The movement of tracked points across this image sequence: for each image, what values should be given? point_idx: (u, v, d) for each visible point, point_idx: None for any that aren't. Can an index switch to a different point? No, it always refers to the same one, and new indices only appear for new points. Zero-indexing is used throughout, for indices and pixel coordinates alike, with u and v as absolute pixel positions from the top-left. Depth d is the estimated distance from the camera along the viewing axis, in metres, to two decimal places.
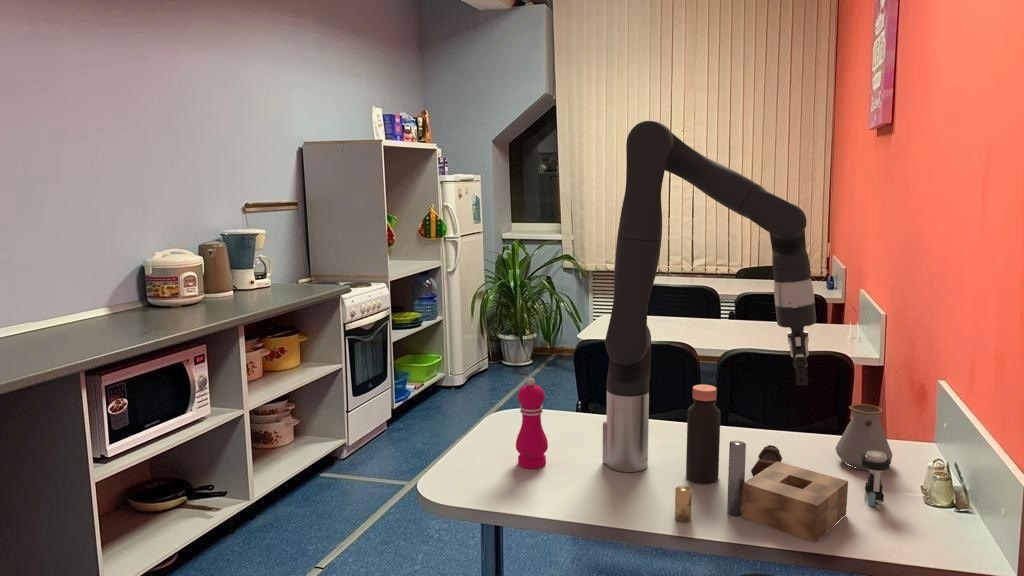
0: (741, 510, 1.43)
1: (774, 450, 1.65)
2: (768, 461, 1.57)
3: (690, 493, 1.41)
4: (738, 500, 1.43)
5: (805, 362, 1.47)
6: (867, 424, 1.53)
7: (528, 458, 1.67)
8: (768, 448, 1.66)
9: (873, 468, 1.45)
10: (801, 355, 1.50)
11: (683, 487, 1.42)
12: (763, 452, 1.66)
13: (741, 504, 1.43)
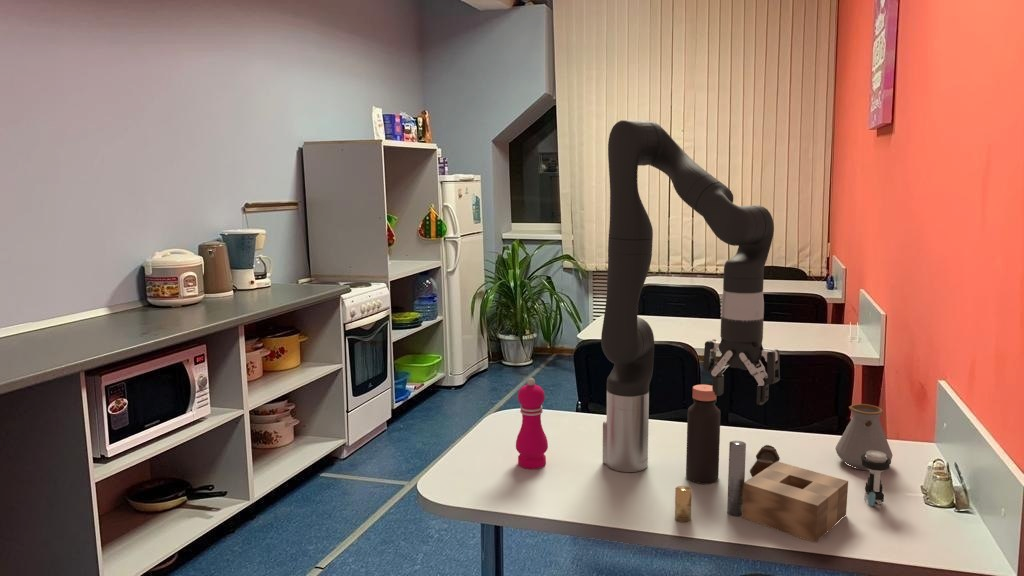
0: (741, 510, 1.43)
1: (772, 450, 1.65)
2: (767, 461, 1.57)
3: (690, 493, 1.41)
4: (738, 500, 1.43)
5: None
6: (867, 424, 1.53)
7: (528, 458, 1.67)
8: (766, 448, 1.66)
9: (873, 468, 1.45)
10: None
11: (683, 487, 1.42)
12: (761, 452, 1.66)
13: (741, 504, 1.43)
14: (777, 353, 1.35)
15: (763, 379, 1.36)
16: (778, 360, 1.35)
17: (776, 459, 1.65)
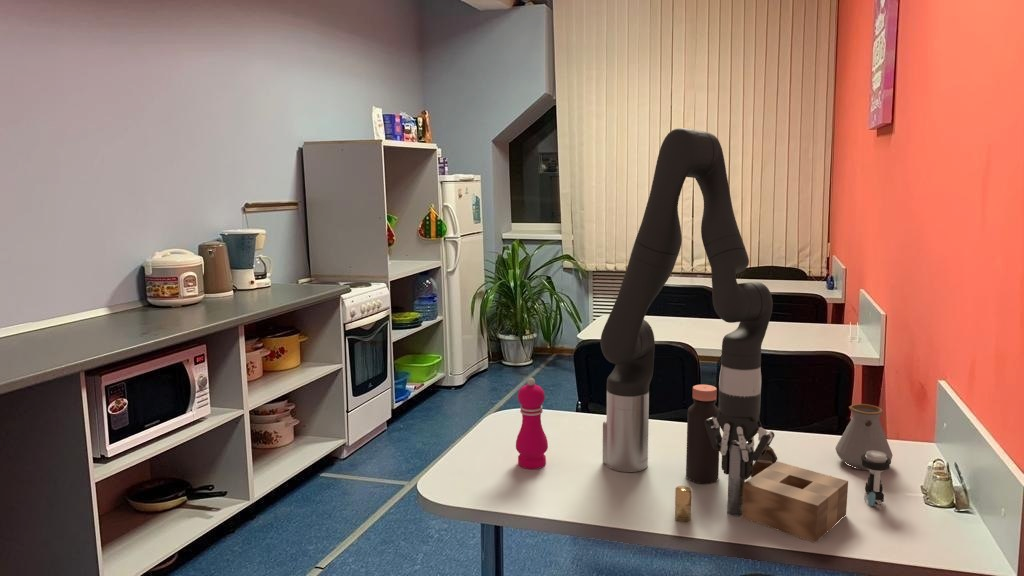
0: (741, 510, 1.43)
1: (769, 450, 1.65)
2: (766, 461, 1.57)
3: (690, 493, 1.41)
4: (738, 500, 1.43)
5: None
6: (867, 424, 1.53)
7: (528, 458, 1.67)
8: None
9: (873, 468, 1.45)
10: None
11: (683, 487, 1.42)
12: None
13: (741, 504, 1.43)
14: (772, 437, 1.38)
15: (748, 457, 1.40)
16: (770, 442, 1.39)
17: (774, 459, 1.65)
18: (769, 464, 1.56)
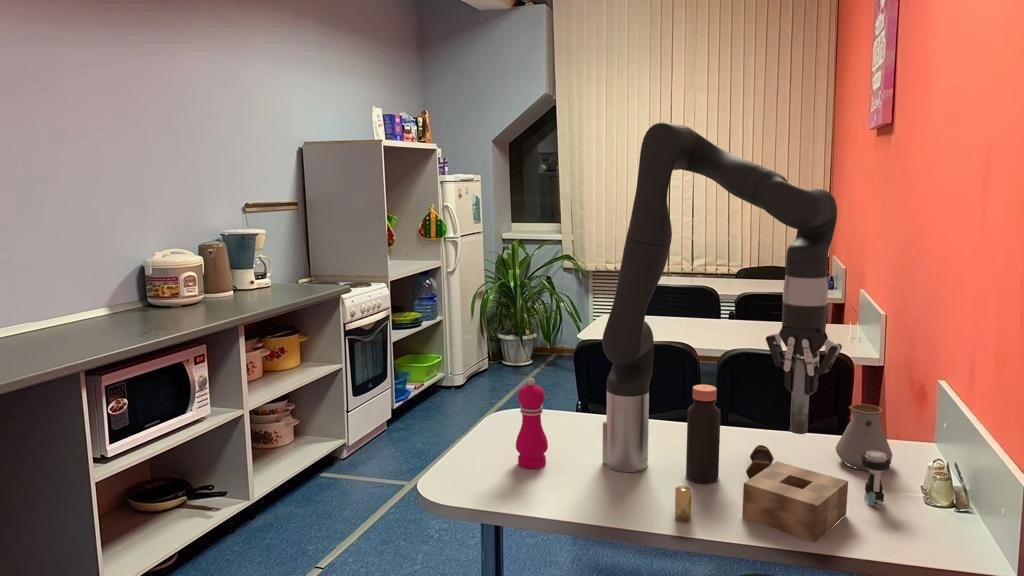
0: (805, 428, 1.38)
1: (766, 450, 1.65)
2: (763, 461, 1.57)
3: (690, 493, 1.41)
4: (802, 416, 1.38)
5: None
6: (867, 424, 1.53)
7: (528, 458, 1.67)
8: (760, 448, 1.66)
9: (873, 467, 1.45)
10: None
11: (683, 487, 1.42)
12: (755, 452, 1.66)
13: (805, 421, 1.38)
14: (839, 349, 1.33)
15: (814, 371, 1.35)
16: (837, 355, 1.34)
17: (770, 459, 1.65)
18: (766, 464, 1.56)
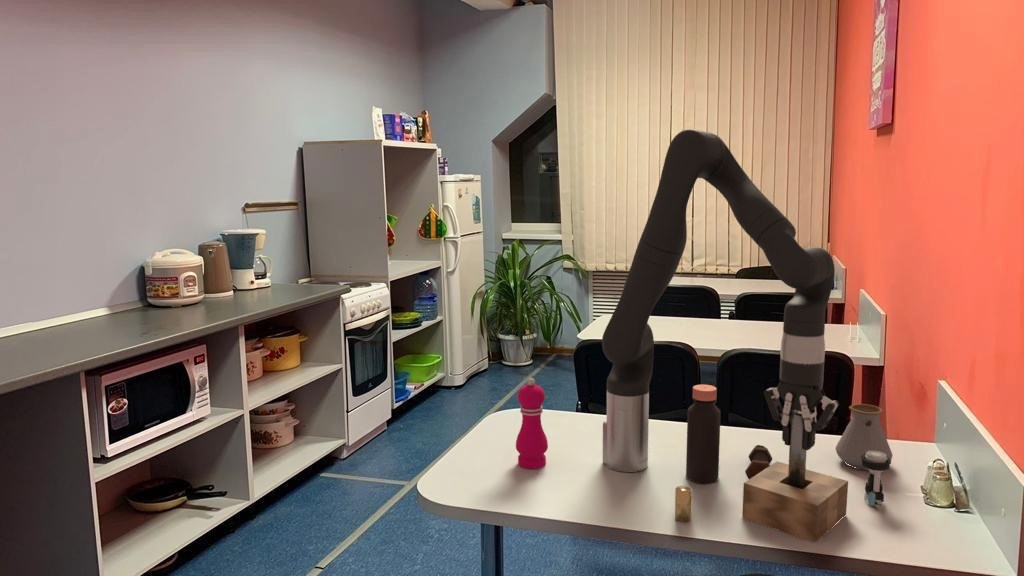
0: (803, 482, 1.40)
1: (764, 450, 1.65)
2: (762, 462, 1.56)
3: (690, 493, 1.41)
4: (800, 471, 1.40)
5: None
6: (867, 424, 1.53)
7: (528, 458, 1.67)
8: (758, 448, 1.66)
9: (873, 468, 1.45)
10: None
11: (683, 487, 1.42)
12: (754, 452, 1.65)
13: (803, 475, 1.40)
14: (836, 406, 1.35)
15: (811, 426, 1.37)
16: (834, 411, 1.36)
17: (769, 459, 1.65)
18: (765, 464, 1.56)
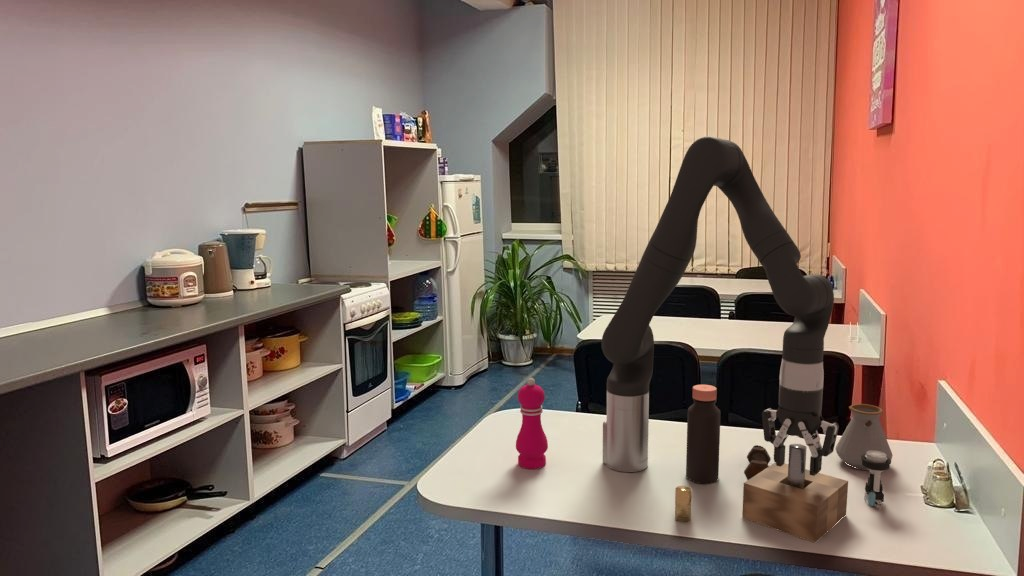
0: None
1: (763, 450, 1.65)
2: (761, 462, 1.56)
3: (690, 493, 1.41)
4: None
5: None
6: (867, 424, 1.53)
7: (528, 458, 1.67)
8: (757, 448, 1.66)
9: (873, 467, 1.45)
10: None
11: (683, 487, 1.42)
12: (752, 453, 1.65)
13: None
14: (837, 428, 1.35)
15: (817, 451, 1.37)
16: (836, 434, 1.36)
17: (767, 459, 1.65)
18: (764, 465, 1.56)
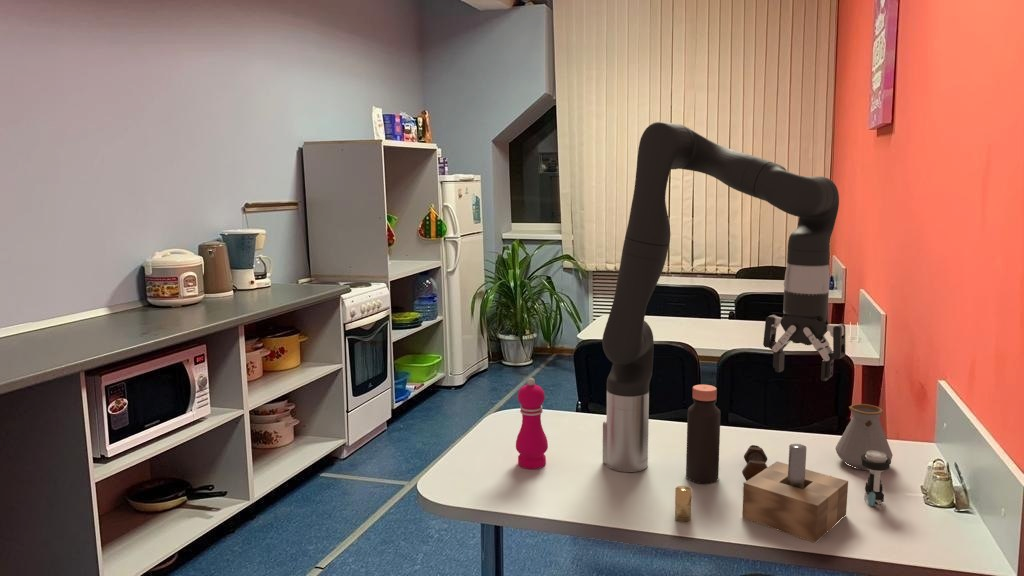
0: None
1: (760, 450, 1.65)
2: (759, 462, 1.56)
3: (690, 493, 1.41)
4: None
5: None
6: (867, 424, 1.53)
7: (528, 458, 1.67)
8: (753, 448, 1.65)
9: (873, 468, 1.45)
10: None
11: (683, 487, 1.42)
12: (749, 453, 1.65)
13: None
14: (843, 328, 1.32)
15: (828, 354, 1.33)
16: (844, 335, 1.32)
17: (764, 459, 1.65)
18: (762, 465, 1.55)
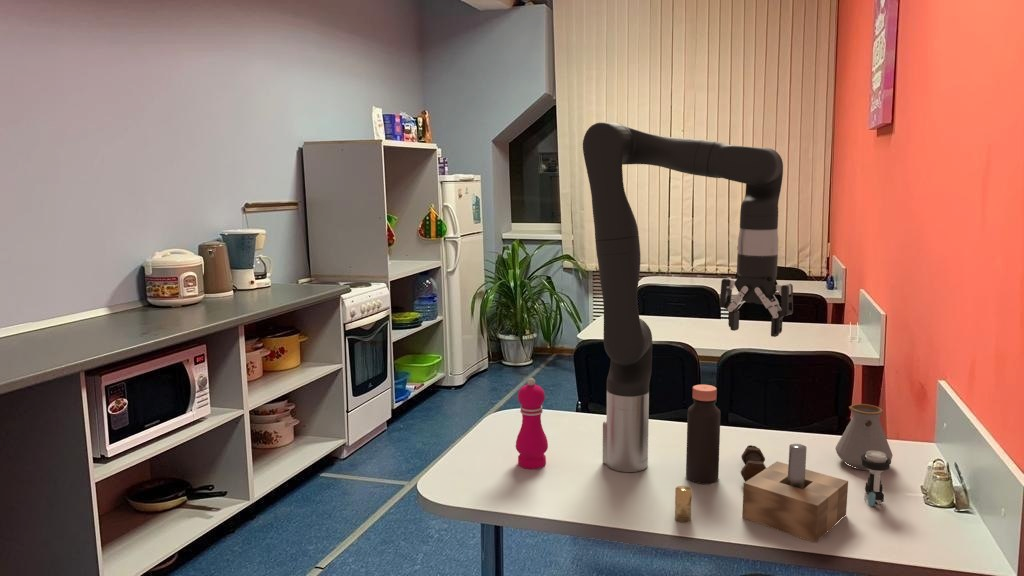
0: None
1: (757, 450, 1.65)
2: (758, 462, 1.56)
3: (690, 493, 1.41)
4: None
5: None
6: (867, 424, 1.53)
7: (528, 458, 1.67)
8: (751, 449, 1.65)
9: (873, 468, 1.45)
10: None
11: (683, 487, 1.42)
12: (747, 453, 1.65)
13: None
14: (791, 287, 1.43)
15: (777, 312, 1.44)
16: (792, 294, 1.43)
17: (762, 459, 1.65)
18: (761, 465, 1.55)
